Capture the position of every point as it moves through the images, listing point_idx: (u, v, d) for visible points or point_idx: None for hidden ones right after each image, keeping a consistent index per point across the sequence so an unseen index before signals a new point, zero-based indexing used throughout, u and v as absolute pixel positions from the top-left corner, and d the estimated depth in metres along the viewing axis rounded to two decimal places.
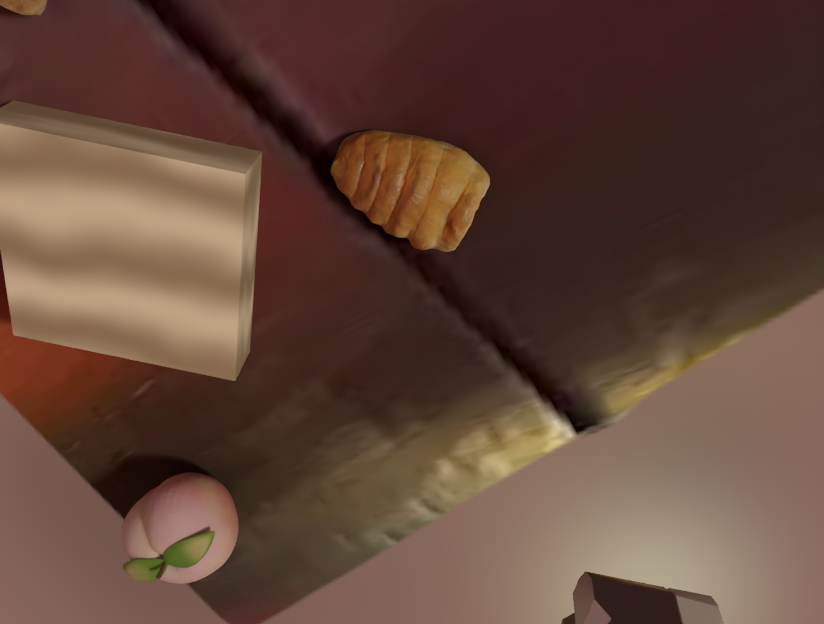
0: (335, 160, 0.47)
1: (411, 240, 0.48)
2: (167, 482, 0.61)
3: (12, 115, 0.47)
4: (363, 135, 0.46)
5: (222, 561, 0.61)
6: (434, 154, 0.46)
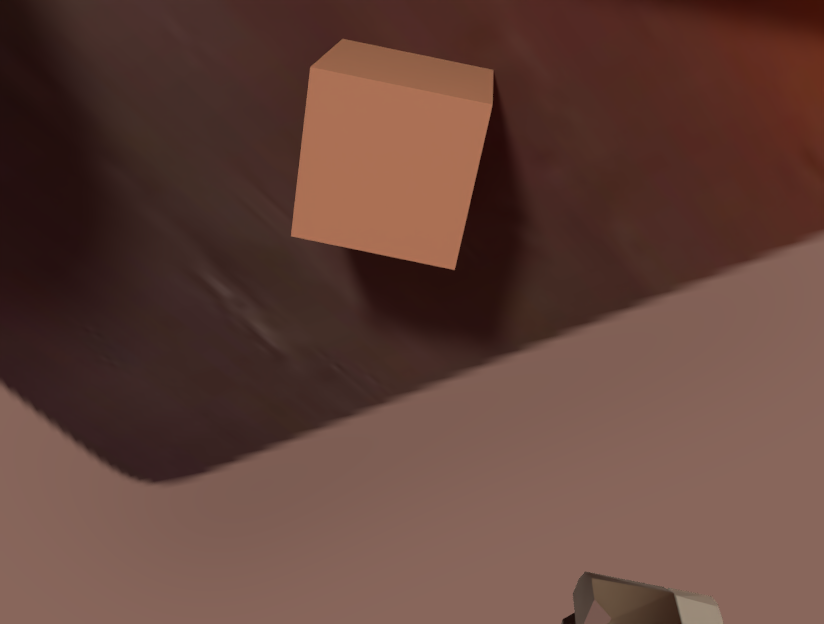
0: None
1: None
2: None
3: None
4: None
5: None
6: None
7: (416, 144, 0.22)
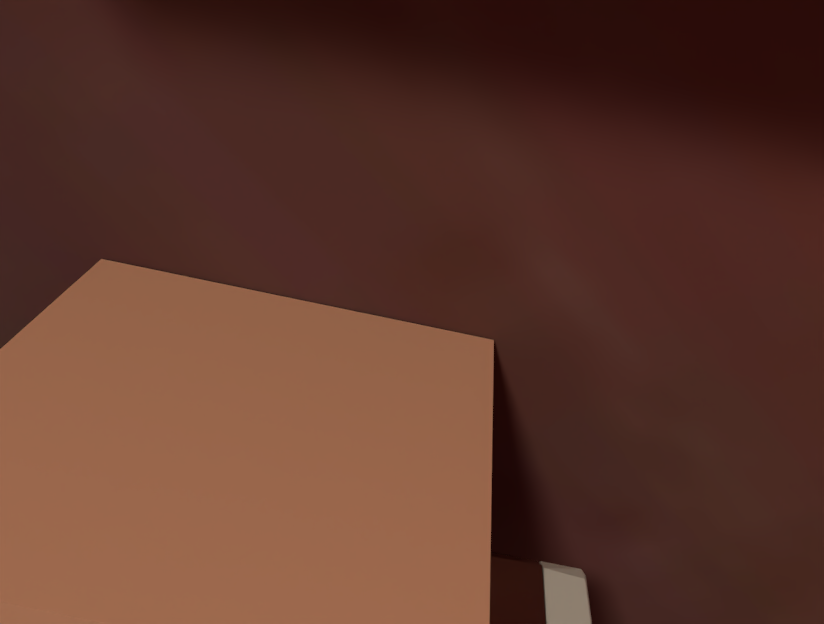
0: None
1: None
2: None
3: None
4: None
5: None
6: None
7: None
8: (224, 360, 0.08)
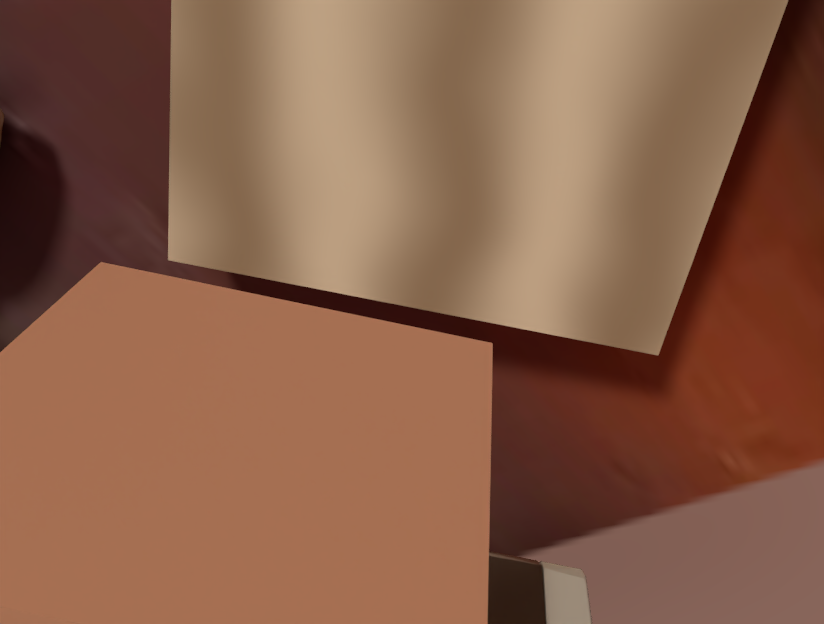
0: None
1: None
2: None
3: None
4: None
5: None
6: None
7: None
8: (223, 364, 0.08)
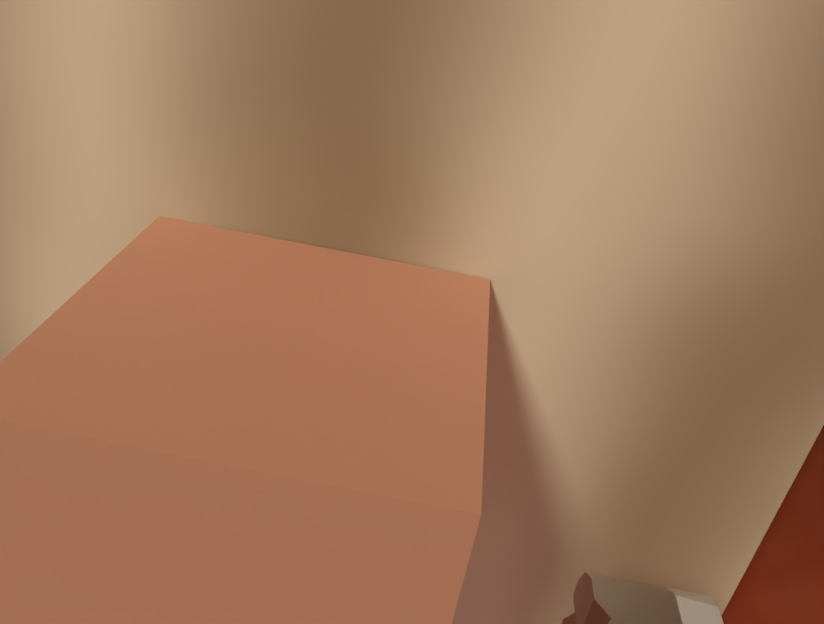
0: None
1: None
2: None
3: None
4: None
5: None
6: None
7: (275, 591, 0.08)
8: (267, 291, 0.10)
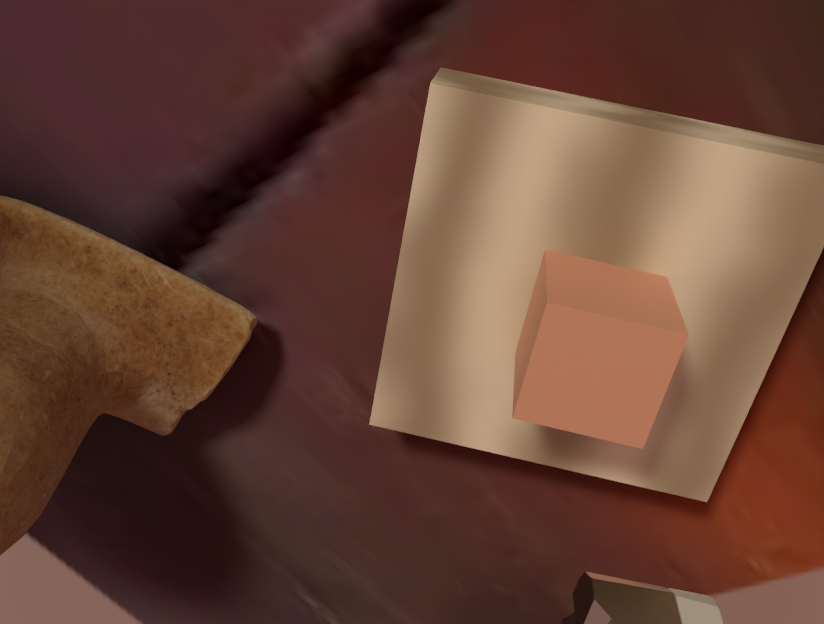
0: None
1: None
2: None
3: None
4: None
5: None
6: None
7: (624, 359, 0.28)
8: (599, 276, 0.30)
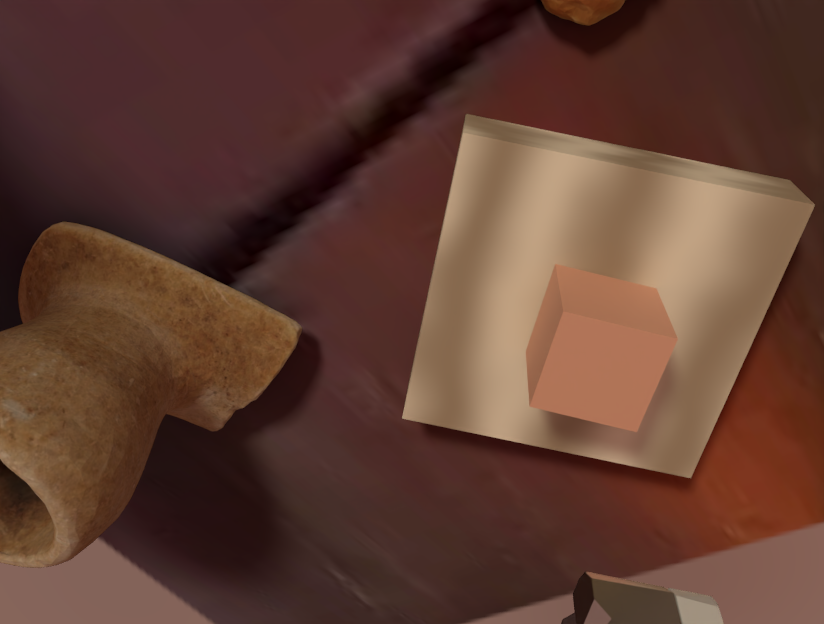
0: (573, 19, 0.34)
1: None
2: None
3: (408, 387, 0.43)
4: None
5: None
6: None
7: (624, 358, 0.34)
8: (601, 288, 0.36)
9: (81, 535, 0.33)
